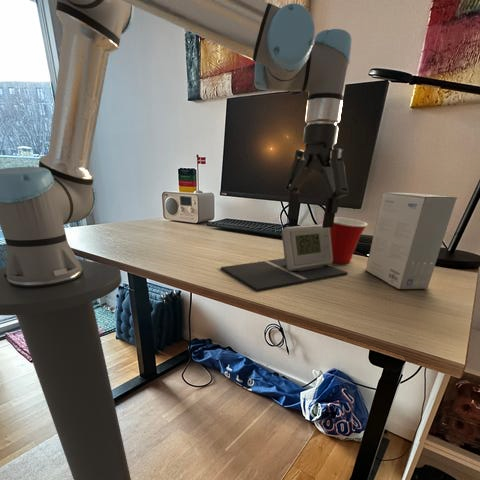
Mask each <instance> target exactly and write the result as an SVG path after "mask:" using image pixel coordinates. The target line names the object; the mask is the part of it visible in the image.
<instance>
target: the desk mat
mask: <svg viewBox="0 0 480 480" xmlns="http://www.w3.org/2000/svg"><path fill="white" fill-rule="evenodd" d="M220 270H222V271H223V272H224V273H227V274H228V275H230V276H231V277H233V278H234V279H236V280H237V281H240V282H241V283H242V284H245V285H246V286H248V287H249V288H251V289H252V290H254V291H256V292H261V291H267V290H272V289H277V288H281V287H287V286H292V285H293V286H294V285H298V284H304V283H308V282H313V281H320V280H324V279H330V278H336V277H340V276H346V275H348V272H347V271H346V270H342V269H339V268H337V267H334V266H331V265H324V266H323V267H319V268H313V269H307V270H302V271H298V270H295V271H288V270H287V268H286V266H285V265H284V258H278V259H269V260H261V261H256V262H255V261H254V262H248V263H241V264H240V263H239V264H233V265H227V266H220Z"/></svg>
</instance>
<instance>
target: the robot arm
mask: <svg viewBox="0 0 480 480" xmlns="http://www.w3.org/2000/svg"><path fill="white" fill-rule="evenodd" d="M136 8H137V9H140V10H142V11H143V12H145V13H149V14H151V15H152V16H155V17H156V18H159V19H160V20H163V21H165V22H168V23H170V24H173V25H175V26H177V27H179V28H182V29H183V30H186V31H188V32H190V33H192V34H194V35H197V36H199V37H201V38H203V39H205V40H208V41H210V42H211V43H214V44H217V45H219V46H220V47H223V48H225V49H227V50H230V51H232V52H234V53H236V54H238V55H240V56H243V57H245V58H248V59H250V60H252V61H253V62H254V81H253V83H254V86H255V88H256V89H257V90H262V91H268V92H272V91H273V92H278V91H279V92H301V93H303V92H304V93H305V92H307V94H308V96H307V101H306V102H307V103H306V111H305V119H304V122H305V124H307V125H305V127H304V129H303V138H302V144H303V145H304V146H305V149H304V150H303V149H296V150H295V152H294V159H293V162H292V165H291V167H290V169H289V173H288V175H287V178H286V180H285V184H284V185H283V189H284V190H286V191H287V192H288V201H287V205H288V207H287V218H286V219H287V220H297V219H298V214H299V213H298V212H299V203H300V197H301V195H300V189H301V187H302V186H303V185H304V183H305V181H306V179H307V178H308V177H309V175H310V174H311V173H312V172H318V173H320V174H321V177H322V179H323V182H324V184H325V187H326V190H327V192H328V196H327V198H326V201H325V207H324V214H323V220H322V224H323V226H322V227H323V228H331V227H333V223H334V217H336V214H337V213H338V209H339V205H340V200H341V199H342V197H347V196H348V195H349V186H348V180H347V175H346V169H345V163H344V157H345V149H344V148H337V147H336V148H335V147H334V146H335V145H336V144H337V143H338V142H337V141H338V134H339V125H338V124H339V123H340V122H341V114H342V110H343V109H342V108H343V103H344V102H343V101H344V95H345V89H346V84H347V83H346V82H347V77H348V71H349V65H350V63H351V60H350V58H351V51H352V50H351V49H352V36H351V34H350V33H349V32H348V31H347V30H345V29H341V28H332V29H324V30H321V31H320V32H318V33H317V34H316V28H315V22H314V19H313V16H312V14H311V12H310V11H309V10H308V9H307V8H306V7H305V6H304V5H302V4H301V3H289V4H286V5H283V6H282V7H280V6H277V5H275V4H273V3H271V2H269V1H266V0H56V9H55V10H56V11H55V14H56V16H57V18H58V19H59V21H60V24H61V26H62V37H61V45H60V53H59V55H60V56H59V62H58V63H59V64H58V70H57V79H56V85H55V86H56V87H55V95H54V101H53V102H54V104H53V111H52V120H51V128H50V136H49V143H48V151H47V154H44V155H42V156H40V157H39V160H38V166H17V167H5V168H0V229H1V233H2V235H3V238H4V241H5V245H6V249H7V255H6V267H7V268H6V274H5V275H4V277H5V278H7V279H8V282H9V284H10V285H11V286H14V287H18V288H44V287H51V286H57V285H62V284H65V283H69V282H72V281H74V280H76V279H78V278H80V277H81V276H82V275H83V270H82V267H81V264H80V262H79V261H78V259H79V258H78V257H77V256H76V254H75V253H74V251H73V249H72V247H71V246H70V244H69V241H68V239H67V238H68V237H67V235H66V234H67V233H66V230H65V225H69V224H72V223H78V222H81V221H84V220H85V219H86V218H88V217H90V215H92V214H93V212H94V210H95V208H96V205H97V193H96V190H95V189H94V186H93V184H94V180H95V176H94V175H93V173H92V171H91V170H90V163H91V157H92V152H93V146H94V140H95V134H96V129H97V124H98V118H99V112H100V107H101V103H102V97H103V96H102V95H103V91H104V84H105V79H106V73H107V68H108V62H109V57H110V54H112V53H113V52H116V51H118V50H119V47H120V43H121V38H122V35H124V33H127V32H128V30H130V27H131V26H132V23H133V21H134V16H135V9H136Z"/></svg>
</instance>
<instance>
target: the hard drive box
mask: <svg viewBox="0 0 480 480" xmlns="http://www.w3.org/2000/svg"><path fill="white" fill-rule="evenodd" d="M457 199H458V197H456V196H446V195H436V194H427V193H426V194H425V193H413V192H382V195H381V198H380V204H379V208H378V213H377V217H376V221H375V225H374V230H373V234H372V235H373V236H372V241H371V244H370V249H369V254H368V258H367V261H366V267H365V271H366V272H368V273H370V274H372V275H373V276H376V277H377V278H379V279H381V280H382V281H384V282H385V283H387V284H388V285H390V286H392V287H394V288H396V289H398V290H417V289H418V290H421V289H422V290H423V289H424V290H425V289H429V285H430V283H431V279H432V276H433V273H434V270H435V267H436V264H437V261H438V257H439V254H440V250H441V248H442V246H443V245H442V244H443V242H444V239H445V236H446V233H447V230H448V226H449V223H450V220H451V217H452V214H453V211H454V208H455V204H456V202H457Z"/></svg>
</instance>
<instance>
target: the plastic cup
mask: <svg viewBox="0 0 480 480" xmlns="http://www.w3.org/2000/svg"><path fill="white" fill-rule="evenodd" d="M366 227H368V223H367V222H366V221H362V220H360V219H354V218H348V217H339V216H335V217H334V223H333V227H331V228H330V236H331V245H332V254H333V262H332V263H333V264H342V265H344V264H345V265H346V264H350V262H351V261H352V258H353V256H354V253H355V251H356V248H357V246H358V243H359V240H360V238H361V235H362V234H363V231H364V230H365V229H366Z"/></svg>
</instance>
